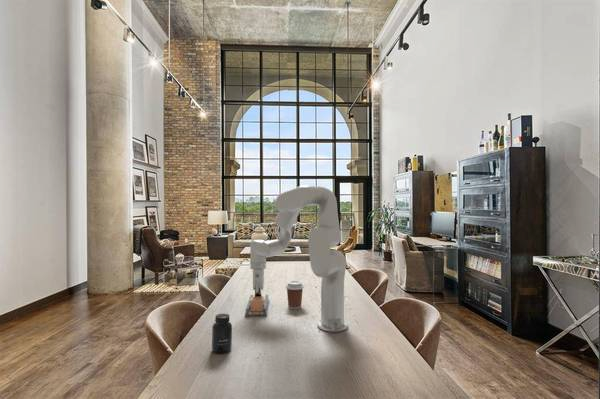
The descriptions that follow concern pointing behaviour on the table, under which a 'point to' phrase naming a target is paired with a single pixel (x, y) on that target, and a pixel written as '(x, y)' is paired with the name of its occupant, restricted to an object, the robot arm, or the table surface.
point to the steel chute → (257, 313)
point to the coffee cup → (294, 294)
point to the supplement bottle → (221, 334)
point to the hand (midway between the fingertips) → (258, 302)
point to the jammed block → (256, 303)
